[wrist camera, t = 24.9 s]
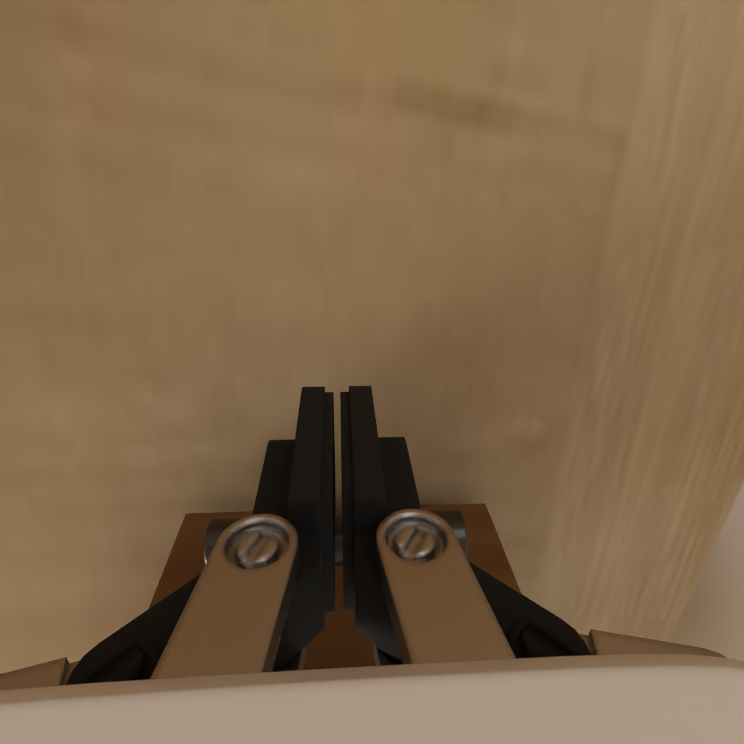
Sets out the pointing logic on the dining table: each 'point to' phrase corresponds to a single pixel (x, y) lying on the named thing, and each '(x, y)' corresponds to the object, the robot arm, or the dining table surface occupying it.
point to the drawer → (340, 636)
